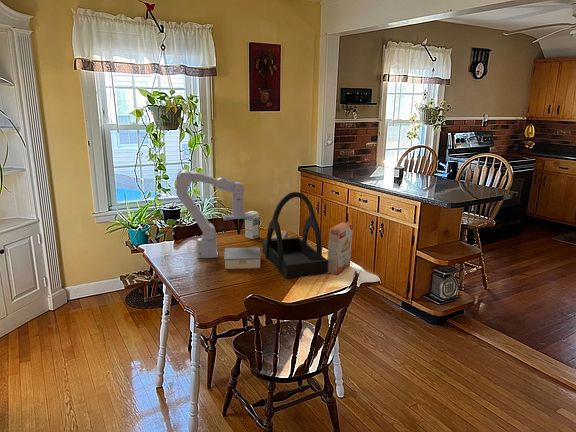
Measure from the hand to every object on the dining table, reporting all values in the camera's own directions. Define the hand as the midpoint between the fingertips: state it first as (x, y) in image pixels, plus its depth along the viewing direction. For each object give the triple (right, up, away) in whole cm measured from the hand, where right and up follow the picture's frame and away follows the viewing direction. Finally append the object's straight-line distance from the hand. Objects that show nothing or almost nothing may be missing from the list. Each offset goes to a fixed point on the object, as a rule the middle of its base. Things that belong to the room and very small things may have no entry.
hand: (238, 233), depth 214 cm
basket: (+27, -14, -8) cm, 31 cm away
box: (+3, -13, -10) cm, 17 cm away
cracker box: (+48, -16, -15) cm, 53 cm away
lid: (+3, -9, -11) cm, 15 cm away
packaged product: (+19, -6, +22) cm, 30 cm away
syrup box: (+4, -3, +28) cm, 29 cm away
